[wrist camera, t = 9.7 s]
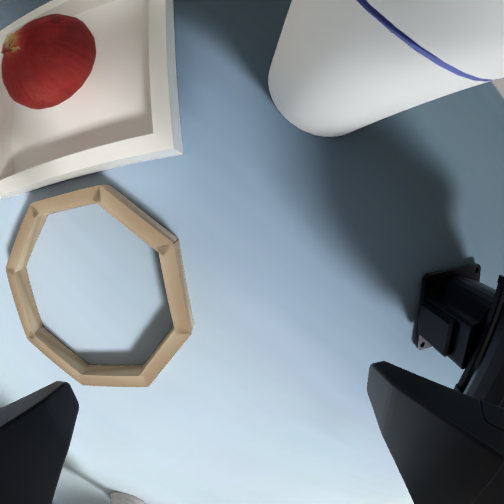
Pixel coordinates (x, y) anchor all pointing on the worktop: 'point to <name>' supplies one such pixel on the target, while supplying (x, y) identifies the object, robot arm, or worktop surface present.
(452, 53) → the cylindrical container
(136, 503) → the chalice
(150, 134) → the tray
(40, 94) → the onion
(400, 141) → the worktop surface
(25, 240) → the ring collar
